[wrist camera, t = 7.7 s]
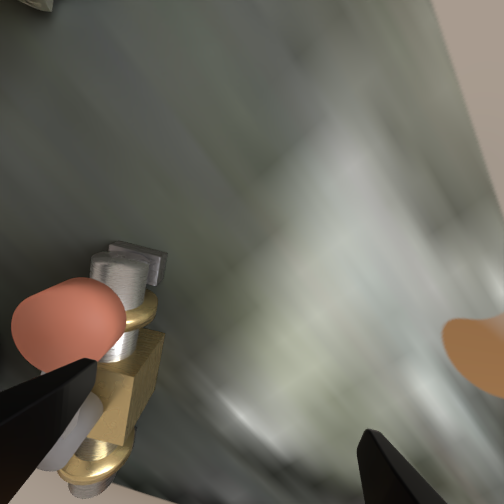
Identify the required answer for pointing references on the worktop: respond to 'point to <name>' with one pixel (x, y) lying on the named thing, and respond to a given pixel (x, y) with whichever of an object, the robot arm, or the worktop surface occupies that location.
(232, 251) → the worktop surface
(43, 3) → the ball valve
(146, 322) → the valve body
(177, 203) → the worktop surface
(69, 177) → the worktop surface
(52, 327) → the lever
